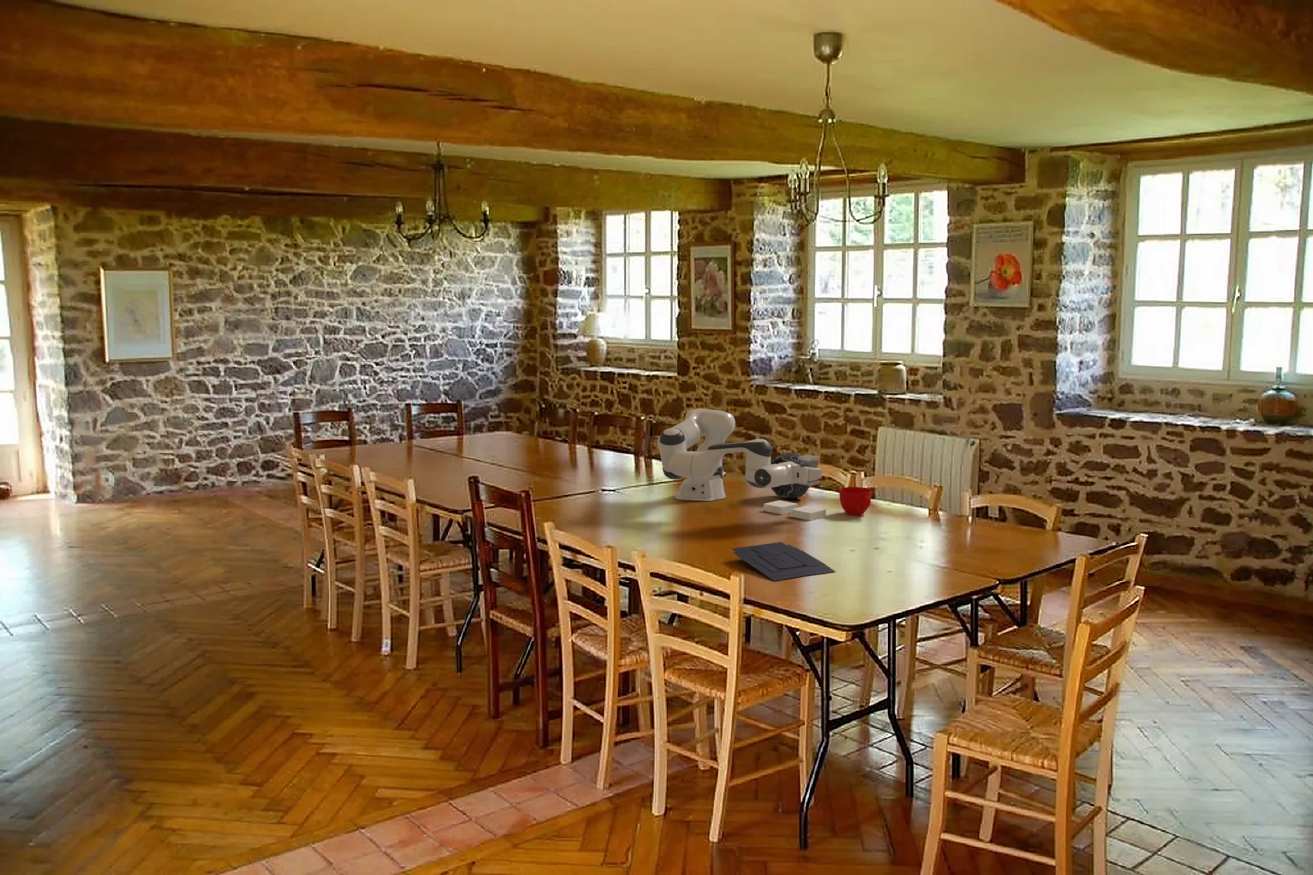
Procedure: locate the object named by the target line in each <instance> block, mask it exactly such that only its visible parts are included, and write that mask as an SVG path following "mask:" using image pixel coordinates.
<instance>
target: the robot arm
mask: <svg viewBox="0 0 1313 875" xmlns="http://www.w3.org/2000/svg"><path fill="white" fill-rule="evenodd" d="M735 427H736V419H735V417H734V415H733V414H731V413H729V412H727V411H724V410H718V409H708V408H693V409H690V410H688V411H687V413H686V414H685V416H684V420H683V421H682V422H680V423H677V424H675V425H674V426H672V427H668V428H665V429H663V431H662V432H661V433H660V435H659V437H658V439H657V440H656V441H657V442H656V444H657V449H658V450H659V454H660V459H661V460H660V461H661V466H662V467H661V468H662V472H663V475H664V476H665V477H666V478H667V479H670V480H679V479H681V478H685V479H684V480H683V481H682V482H681V484H680V486H679V491H678V492H675V494H674V499H676V500H681V501H701V502H702V501H703V502H712V501H716V500H722V499H725V498H726V497H727V496H726V493H725V488H724V482H723V480H724V479H723V478H724V465H723V457H724V456H725V455H726V454H732V453H733V454H735V453H745V455H746V456H745V458H746V459H745V474H744V475H745V477H744V478H745V479H744V480H746V482H747V483H748V484H749V485H750V486H751V487H754V488H757V489H765V488H771V487H777V486H780V485H787V484H794V483H801V484H805V483H807V481H813V480H817V481H818V480H820V479H822V476H823V470H822V468H815V467H814V468H813V467H806V466H801V465H798V464H795V463H794V462H791V461H788V462H783V463H779V464H772V465H771V462H772V452H773V446H772V445H771V443H770V442H769V441H768V439H763V438H757V439H751V440H746V441H744V440H743V441H733V442H726V440H727V438H728V437H729V435H731V434H732V433H733V432H734V430H735ZM704 435H705V438H704V441H703V443H701V444H700V445H699V446H697V450H696V451H687V450H688V449H689V448H690V447H693V446H695V445H696V444H698V443H699V441H700V440H701V436H704Z"/></svg>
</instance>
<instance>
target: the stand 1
mask: <svg viewBox="0 0 1313 875" xmlns="http://www.w3.org/2000/svg"><path fill="white" fill-rule="evenodd" d="M795 508H799V503H795V502H791V501H786V500H775V501H770V502H767V503H766V502H765V503H763V511H764V512H768V513H773V514H778V515H786V514H791V509H795Z"/></svg>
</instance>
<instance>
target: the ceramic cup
mask: <svg viewBox="0 0 1313 875" xmlns="http://www.w3.org/2000/svg"><path fill="white" fill-rule="evenodd" d="M838 492H839V502H840V505H841V506H840V507H842V509H843V511H844V513H846V515H848V516H855V517H856V516H862V515H864V513H865V512H867V511H868V509H869V507H870V506H871V502H872V501H871V500H872V489H871V488H867V487H861V486H846V487H841V488H839V490H838Z"/></svg>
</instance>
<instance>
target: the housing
mask: <svg viewBox="0 0 1313 875" xmlns="http://www.w3.org/2000/svg"><path fill="white" fill-rule="evenodd" d="M799 459H800V460H801V466H806V467H813V468H814V467H815V468H818V466H819V465H818V464H819V460H821V456H820V455H813V454H805V455H804V454H803V455H800V456H799ZM798 484H801V483H798ZM802 485H808V486H810V487H811V486H815V485H820V480H818V479H817V480H813V481H807V483H805V484H802Z"/></svg>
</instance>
